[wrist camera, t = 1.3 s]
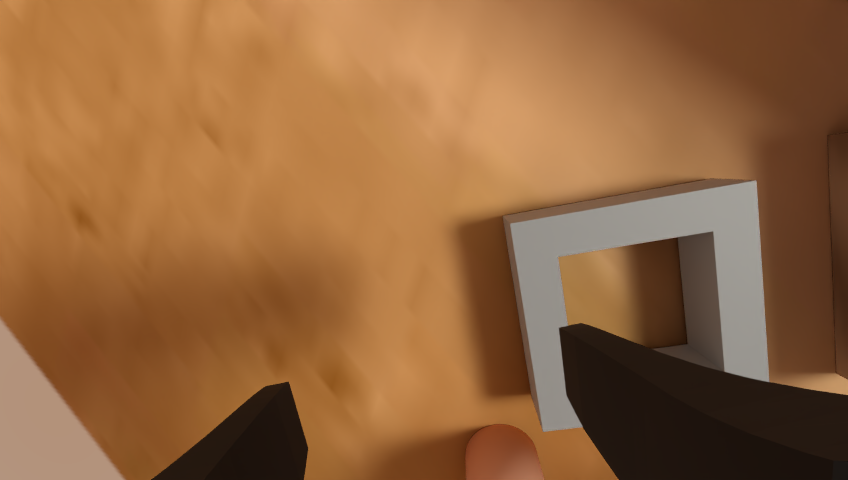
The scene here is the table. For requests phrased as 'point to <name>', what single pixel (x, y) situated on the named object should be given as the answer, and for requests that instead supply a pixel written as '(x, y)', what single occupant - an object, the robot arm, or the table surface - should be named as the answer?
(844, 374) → the walnut wall
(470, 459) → the peach egg shape
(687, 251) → the socket block
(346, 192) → the table surface
